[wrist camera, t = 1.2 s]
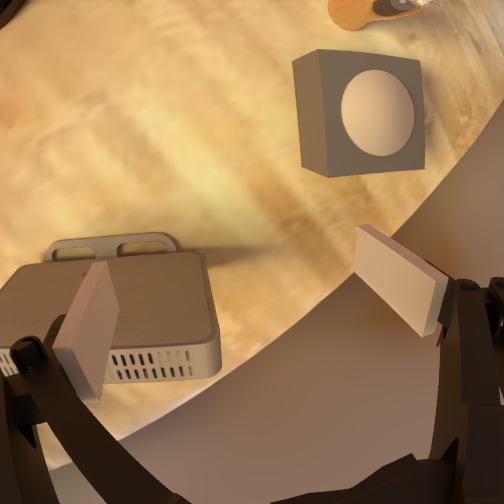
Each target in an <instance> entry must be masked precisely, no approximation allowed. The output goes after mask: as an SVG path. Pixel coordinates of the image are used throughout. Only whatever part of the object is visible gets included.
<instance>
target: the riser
mask: <svg viewBox="0 0 504 504" xmlns="http://www.w3.org/2000/svg"><path fill="white" fill-rule="evenodd" d="M292 65H293V74H294V84H295V94H296V104H297V115H298V126H299V138H300V151H301V164H302V167H303V168H306V169H308V170H311V171H313V172H315V173H318V174H320V175H323V176H325V177H327V178H330V177H339V176H349V175H359V174H370V173H381V172H393V171H406V170H421V169H425V127H424V104H423V89H422V78H421V68H420V61H418V60H412V59H407V58H401V57H394V56H387V55H380V54H372V53H362V52H352V51H339V50H322V49H317V50H315V51H313V52H310V53H308V54H306V55H304V56H302V57H300V58H298V59H296V60H294V61H292Z"/></svg>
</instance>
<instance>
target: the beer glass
mask: <svg viewBox="0 0 504 504" xmlns="http://www.w3.org/2000/svg"><path fill="white" fill-rule="evenodd" d="M436 1H437V0H329V2H328V12H329V15H330V17H331V18H332V20H333V21H334V22H335V23H336V24H337V25H339V26H340V27H342V28H344V29H346V30H359V29H361V28H362V27H364V26H365V25H366V24H367V23H369V22H371V21H378V20H390V19H397V18H401V17H405V16H409V15H411V14H414V13H417V12H419V11H421V10H424V9H426V8H429V7H432V6H433V5H434V4H435V3H436Z"/></svg>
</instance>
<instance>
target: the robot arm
mask: <svg viewBox="0 0 504 504" xmlns="http://www.w3.org/2000/svg"><path fill="white" fill-rule="evenodd" d="M24 1H25V0H0V28H2V27H3V26H4V25H5V24H6V23H7V22H8V21H9V20H10V19H11V18H12V17H13V15H14V14H15V13H16V12H17V11H18V9H19V8H20V7H21V5H22V4H23V2H24ZM354 272H355V273H356V274H357V275H359V277H360V278H362V279H363V280H364V281H365V282H366V283H367V284H368V285H369V286H370V287H371V288H372V289H373V290H374V291H375V292H376V293H377V294H378V295H379V296H381V298H383V299H384V300H385V301H386V302H387V303H388V304H389V305H390V306H391V307H392V308H393V309H394V310H395V311H396V312H397V313H398V314H399V315H400V316H401V317H402V318H403V319H404V320H405V321H406V322H407V323H408V324H409V325H410V326H411V327H412V328H413V329H414V330H415V331H416V332H417V333H418V334H419V335H420V336H421V337H424V336H427V335H429V334H432V333H434V332H435V328H436V325H437V322H440V323H441V324H442V325H443V326H442V329H441V333H440V336H439V339H438V342H437V345H436V346H439V344H440V368H439V385H438V398H437V407H436V416H435V424H434V432H433V439H432V445H431V451H430V454H429V458H428V459H422V460H416V459H415V457H414V455H413V454H412V453H411V454H409V455H407V456H404V457H402V458H401V459H398V460H396V461H394V462H392V463H389V464H387V465H385V466H383V467H381V468H380V469H378V470H377V471H376V472H374V473H373V474H371V475H370V476H369V477H367V478H366V479H364V480H363V481H361V482H360V483H359V484H357V485H356V486H354V487H352V488H349V489H344V490H336V491H325V492H315V493H307V494H304V495H300V496H296V497H292V498H289V499H285V500H280V501H276V502H272V503H270V504H504V405H501V403H500V392H499V387H500V390H501V392H502V395H503V398H504V278H503V277H493V278H491V280H490V283H489V287H487V288H480V286H479V285H478V284H477V283H475V282H474V281H472V280H468V279H457V280H454V279H453V278H452V277H450V276H449V275H447V274H446V273H444V272H443V271H442V270H439V268H437V267H436V266H434V265H433V264H431V263H430V262H428V261H427V260H424V259H422V258H420V257H418V256H417V255H415V254H413V253H412V252H410V251H409V250H408V249H406V248H405V247H403V246H402V245H400V244H398V243H397V242H395V241H394V240H392V239H391V238H389V237H388V236H386V235H384V234H383V233H381V232H380V231H378V230H377V229H375V228H373V227H372V226H370V225H369V224H367V225H359V226H357V229H356V245H355V259H354ZM119 309H120V307H119V304H118V301H117V297H116V294H115V291H114V287H113V283H112V280H111V276H110V272H109V269H108V265H107V261H102V262H96V263H92V265H91V267H90V269H89V271H88V273H87V274H86V276H85V278H84V280H83V282H82V284H81V286H80V288H79V290H78V292H77V294H76V296H75V298H74V300H73V302H72V304H71V307H70V309H69V311H68V313H67V314H62V315H59V316H58V317H57V318H56V319H55V320H54V321H53V322H52V324H51V326H50V328H49V331H48V332H47V334H46V337H45V339H44V341H43V343H42V342H41V340H40V338H38V337H37V336H33V335H31V336H25V337H23V338H20V339H19V340H18V341H16V342H15V343H14V344H13V345H12V346H11V348H10V351H9V353H10V357H11V359H12V360H13V362H14V364H15V366H16V367H17V369H18V371H19V373H16V374H13V375H10V376H6V377H5V375H4V373H3V372H2V370H1V369H0V504H60V503H59V501H58V498H57V495H56V493H55V490H54V487H53V484H52V481H51V478H50V475H49V472H48V468H47V465H46V462H45V458H44V455H43V451H42V447H41V444H40V440H39V436H38V431H37V427H36V425H37V424H41V423H44V422H47V423H48V425H49V426H50V428H51V430H52V431H53V433H54V434H55V436H56V437H57V439H58V440H59V442H60V443H61V445H62V446H63V448H64V449H65V451H66V452H67V454H68V455H69V456H70V458H71V459H72V461H73V462H74V463H75V465H76V466H77V467H78V468H79V470H80V471H81V473H82V474H83V475H84V476H85V478H86V479H87V480H88V481H89V483H90V484H91V485H92V486H93V488H94V489H95V490H96V491H97V493H98V494H99V495H100V496H101V497H102V498H103V499H104V501H105V502H106V503H107V504H191V503H190V502H188V501H187V500H186V499H185V498H183V497H182V496H180V495H179V494H177V493H173V492H171V491H170V490H169V489H168V488H166V487H165V486H164V485H163V484H162V483H161V482H159V481H158V480H157V479H156V478H155V477H154V476H153V475H152V474H150V473H149V472H148V471H147V470H146V469H145V468H144V467H143V466H142V465H141V464H140V463H139V462H138V461H137V460H136V459H134V458H133V457H132V456H131V455H130V454H129V453H128V452H127V451H126V450H125V449H124V448H123V447H122V446H121V445H120V443H118V441H117V440H116V439H115V438H114V437H113V436H112V435H111V434H110V433H109V432H108V431H107V430H106V429H105V427H104V426H103V425H102V424H101V423H100V422H99V421H98V420H97V418H96V417H95V416H94V415H93V414H92V413H91V411H90V410H89V409H88V408H87V407H86V406H85V404H84V403H100V399H101V393H102V388H103V382H104V377H105V372H106V367H107V362H108V357H109V352H110V347H111V343H112V338H113V334H114V330H115V325H116V321H117V317H118V313H119ZM502 321H503V326H501V324H502Z"/></svg>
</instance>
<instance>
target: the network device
mask: <svg viewBox="0 0 504 504" xmlns="http://www.w3.org/2000/svg"><path fill="white" fill-rule="evenodd" d="M147 241H161V242H163V243H164V244H165V245H166V248H167V253H165V254H151V255H138V256H125V257H118V253H117V247H118V246H119V245H120V244H123V243H134V242H147ZM74 247H90V248H92V249H93V250H94V251H95V255H96V256H95V259H86V260H74V261H61V262H54V258H53V252H54V250H56V249H63V248H74ZM102 261H107V265H108V269H109V272H110V276H111V280H112V283H113V287H114V291H115V294H116V297H117V301H118V304H119V307H120V309H119V313H118V317H117V321H116V325H115V330H114V334H113V338H112V343H111V347H110V352H109V357H108V362H107V367H106V372H105V377H104V382H103V384H119V383H148V382H166V381H180V380H192V379H203V378H209V377H212V376H214V375H216V374H217V373H218V372H219V371H220V370H221V368H222V357H221V341H220V328H219V323H218V319H217V314H216V310H215V305H214V300H213V296H212V291H211V286H210V281H209V276H208V271H207V266H206V261H205V256H204V254H202V253H200V252H178V253H177V249H176V246H175V244H174V242H173V241H172V239H171V238H169V237H168V236H167V235H165V234H163V233H159V232H149V233H136V234H124V235H112V236H101V237H90V238H79V239H68V240H59V241H56V242H54V243H52V244H51V245H50V246H49V247H48V249H47V251H46V254H45V263H36V264H28V265H24V266H22V267H20V268H19V269H17V270H16V272H15V273H14V274H13V275H12V276H11V277H10V278H9V280H8V281H7V282H6V283H5V284H4V285H3V287H2V288H1V289H0V369H1V370H2V372H3V373H4V375H5V377H6V376H10V375H13V374H16V373H19V371H18V369H17V367H16V366H15V364H14V362H13V360H12V359H11V357H10V353H9V351H10V348H11V346H12V345H13V344H14V343H15V342H16V341H18V340H19V339H20V338H23V337H25V336H31V335H33V336H37V337H38V338H40V340H41V342H42V343H43V341H44V339H45V337H46V334H47V332H48V331H49V328H50V326H51V324H52V322H53V321H54V320H55V319H56V318H57V317H58V316H59V315H62V314H67V313H68V311H69V309H70V307H71V304H72V302H73V300H74V298H75V296H76V294H77V292H78V290H79V288H80V286H81V284H82V282H83V280H84V278H85V276H86V274H87V273H88V271H89V269H90V267H91V265H92V263H96V262H102Z"/></svg>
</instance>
